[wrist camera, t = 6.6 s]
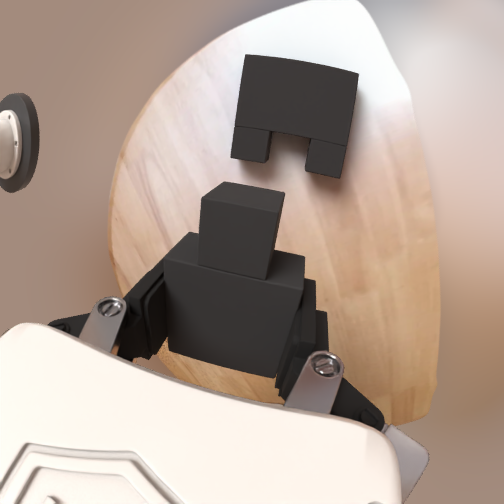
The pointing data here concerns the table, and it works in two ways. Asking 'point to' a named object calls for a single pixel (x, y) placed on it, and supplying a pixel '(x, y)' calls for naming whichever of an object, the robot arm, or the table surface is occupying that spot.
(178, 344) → the small pad
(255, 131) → the base pad
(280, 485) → the robot arm
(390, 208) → the table surface
